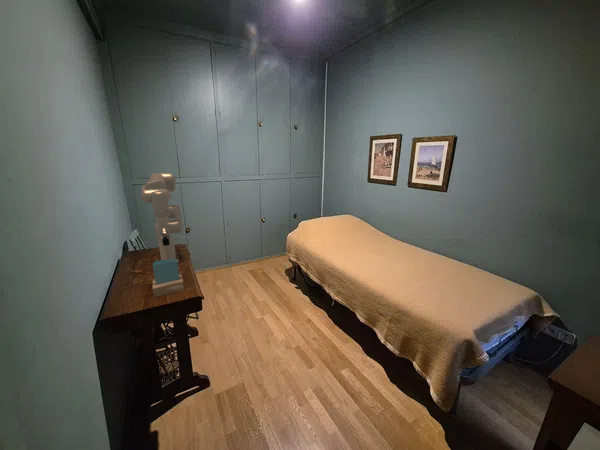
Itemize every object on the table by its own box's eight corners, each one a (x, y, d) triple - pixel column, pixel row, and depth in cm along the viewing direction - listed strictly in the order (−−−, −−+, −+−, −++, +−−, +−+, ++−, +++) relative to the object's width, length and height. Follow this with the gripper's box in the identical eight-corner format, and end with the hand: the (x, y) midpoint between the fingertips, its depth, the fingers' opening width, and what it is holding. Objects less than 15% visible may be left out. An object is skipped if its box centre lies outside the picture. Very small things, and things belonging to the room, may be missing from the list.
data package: (179, 276, 142) (176, 257, 138) (179, 279, 138) (177, 260, 135) (155, 281, 136) (152, 261, 132) (155, 284, 132) (152, 264, 129)
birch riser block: (154, 286, 139) (152, 278, 138) (182, 280, 147) (181, 273, 146) (154, 297, 129) (152, 288, 127) (184, 289, 136) (183, 282, 135)
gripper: (154, 211, 136) (158, 239, 140) (153, 217, 121) (158, 248, 126) (169, 209, 139) (172, 237, 144) (170, 216, 125) (174, 246, 130)
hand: (166, 242), depth 135 cm, fingers open, 9 cm apart
